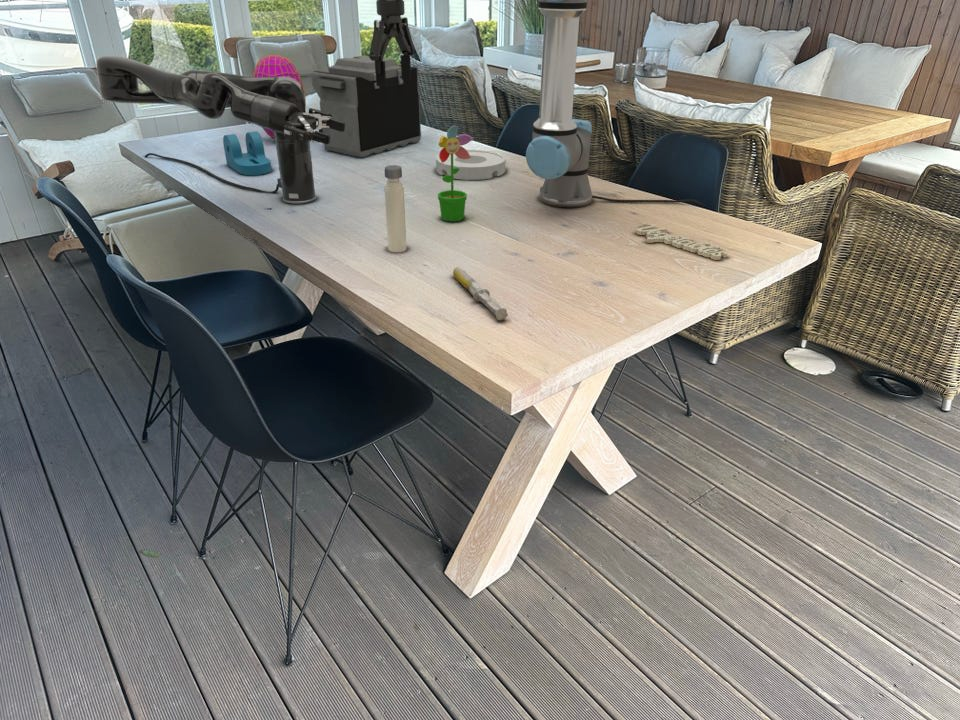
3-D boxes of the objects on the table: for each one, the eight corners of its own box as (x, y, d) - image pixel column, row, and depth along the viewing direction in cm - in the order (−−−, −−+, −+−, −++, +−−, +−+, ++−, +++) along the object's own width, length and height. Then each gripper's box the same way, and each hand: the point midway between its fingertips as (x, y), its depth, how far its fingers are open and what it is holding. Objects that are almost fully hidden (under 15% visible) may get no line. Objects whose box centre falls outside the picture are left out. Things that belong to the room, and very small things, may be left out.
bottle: (388, 252, 166) (383, 172, 156) (387, 246, 170) (382, 166, 160) (407, 252, 167) (403, 171, 157) (406, 245, 170) (402, 166, 160)
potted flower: (443, 224, 183) (442, 128, 170) (432, 216, 189) (429, 122, 176) (475, 219, 187) (476, 124, 174) (462, 211, 193) (462, 119, 180)
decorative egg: (293, 132, 276) (283, 50, 261) (319, 140, 264) (310, 56, 249) (249, 139, 265) (236, 54, 250) (273, 148, 253) (261, 60, 238)
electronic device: (383, 133, 276) (378, 52, 261) (425, 141, 265) (422, 56, 250) (314, 150, 251) (304, 61, 235) (358, 160, 240) (350, 67, 224)
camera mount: (227, 164, 233) (221, 132, 227) (257, 160, 238) (252, 129, 233) (244, 176, 220) (239, 143, 215) (276, 172, 225) (271, 139, 220)
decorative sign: (622, 230, 178) (646, 222, 184) (622, 233, 179) (645, 225, 184) (711, 260, 161) (734, 250, 167) (711, 264, 162) (733, 253, 167)
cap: (385, 179, 157) (384, 169, 156) (384, 174, 161) (384, 165, 159) (402, 178, 158) (401, 169, 157) (401, 174, 161) (401, 164, 160)
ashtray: (439, 160, 240) (438, 148, 238) (505, 161, 240) (505, 150, 238) (433, 179, 220) (432, 166, 218) (505, 180, 220) (505, 168, 218)
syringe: (449, 274, 155) (449, 263, 153) (465, 272, 156) (464, 260, 154) (490, 323, 135) (491, 310, 133) (508, 319, 136) (508, 307, 134)
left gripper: (289, 120, 173) (348, 138, 172) (260, 140, 163) (323, 159, 161) (289, 90, 169) (350, 108, 167) (259, 109, 158) (324, 128, 156)
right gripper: (401, -4, 196) (405, 76, 206) (351, 0, 176) (358, 88, 187) (424, -3, 193) (427, 78, 204) (376, 1, 173) (382, 90, 184)
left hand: (337, 133), depth 164 cm, fingers open, 8 cm apart
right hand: (394, 83), depth 195 cm, fingers open, 13 cm apart
